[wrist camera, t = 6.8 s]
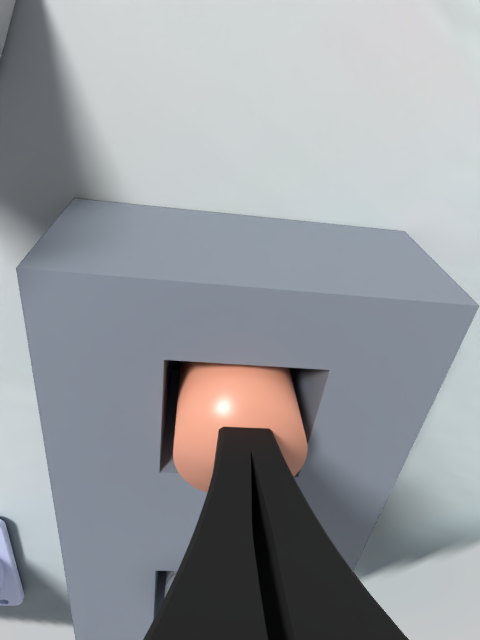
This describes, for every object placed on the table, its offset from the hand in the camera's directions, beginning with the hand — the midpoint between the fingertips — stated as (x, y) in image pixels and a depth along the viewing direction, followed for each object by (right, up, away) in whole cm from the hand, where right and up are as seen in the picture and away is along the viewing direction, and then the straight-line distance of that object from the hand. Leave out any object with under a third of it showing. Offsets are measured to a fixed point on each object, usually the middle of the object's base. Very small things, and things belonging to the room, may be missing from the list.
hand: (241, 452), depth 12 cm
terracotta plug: (0, +2, +4) cm, 4 cm away
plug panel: (-1, -1, +8) cm, 8 cm away
